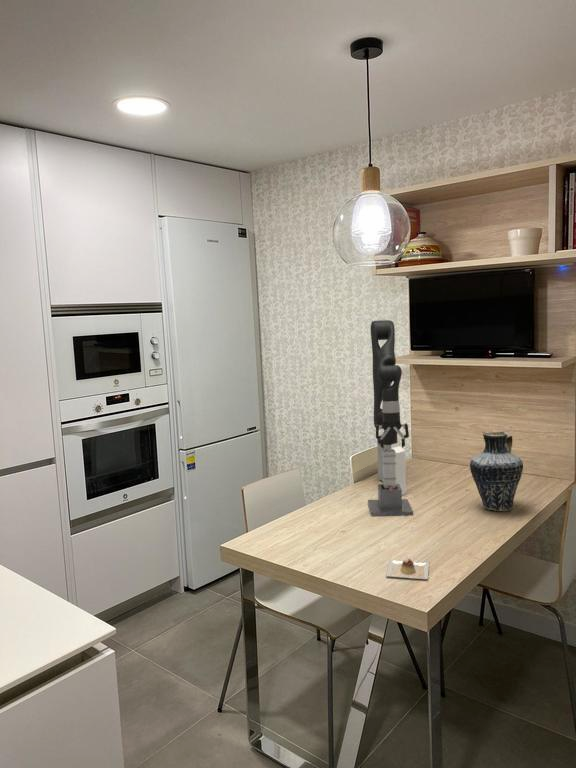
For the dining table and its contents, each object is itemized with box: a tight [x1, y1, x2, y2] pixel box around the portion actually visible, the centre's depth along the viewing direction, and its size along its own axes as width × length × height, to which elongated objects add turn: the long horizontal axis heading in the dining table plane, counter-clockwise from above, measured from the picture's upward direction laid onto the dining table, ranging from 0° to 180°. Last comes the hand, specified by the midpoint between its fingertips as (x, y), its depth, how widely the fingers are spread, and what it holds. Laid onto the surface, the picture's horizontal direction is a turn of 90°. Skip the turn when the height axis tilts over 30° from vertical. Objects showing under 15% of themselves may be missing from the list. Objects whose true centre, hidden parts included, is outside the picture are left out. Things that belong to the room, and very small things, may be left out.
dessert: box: [386, 556, 430, 581], centre depth 184 cm, size 12×12×5 cm
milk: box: [391, 442, 407, 496], centre depth 260 cm, size 6×6×22 cm
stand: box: [367, 483, 414, 517], centre depth 241 cm, size 16×16×10 cm
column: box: [382, 449, 396, 489], centre depth 240 cm, size 5×5×22 cm
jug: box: [469, 430, 524, 512], centre depth 237 cm, size 21×19×30 cm
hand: (392, 447), depth 267 cm, fingers open, 8 cm apart
